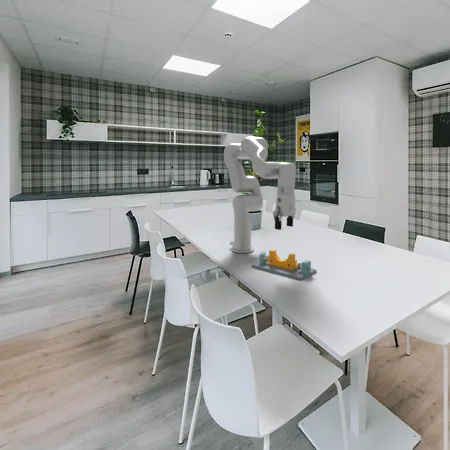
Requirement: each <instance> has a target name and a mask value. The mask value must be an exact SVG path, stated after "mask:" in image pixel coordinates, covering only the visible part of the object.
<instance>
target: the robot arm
mask: <svg viewBox="0 0 450 450" xmlns="http://www.w3.org/2000/svg"><path fill="white" fill-rule="evenodd" d="M268 153H269V152H268V141H267V139H265V138H264V137H261V136H260V137H259V136H246V137H244V138H242V139H241V140H240V143H238V142H237V143H235V142H234V143H230V144H227V145H226V146H225V148H224V151H223V159H224V160H223V161H224V164H225V166H226V167H227V170H228V175H229V179H230V184H231V189H232V191H233V193H235V194H238V195H236V196H235V197H234V198H233V200H232V209H233V218H234V219H233V220H234V222H233V225H234V227H233V229H234V231H233V234H234V235H233V236H234V237H233V238H234V239H233V240H231V241H230V242H229V245H230V246H232V247H231V251H232V252H234V253H237V254H248V253H253V252H254V248H253V246H252V218H251V216H250V214H249V212H257V211H261V210H262V209H263V205H264V200H263V194H262V190H261V185H260V182H259V180H258V178H257V177H255V176H253V175H246V174H245V171H244V167H243V164H241V162H239V160H251V166H252V169H253V171H254V172H255V173H256V174H257V175H258V176H259V177H260V178H262V179H267V180H268V179H270V180H272V179H276V180H277V191H276V194H277V196H276V200H275V208H274V210H273V211H272V215H273V219H274V229H275V230H279V231H280V230H282V224H283V223H282V219H283V217H285V218H286V227H292V228H293V227H294V219H295V214H296V211H297V208H296V195H295V185H296V170H297V168H296V166H297V165H296V164H295V163H294V162H293V163H292V162H283V161H282V162H281V161H280V162H279V161H266V159H267V158H268Z"/></svg>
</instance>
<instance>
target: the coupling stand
mask: <svg viewBox="0 0 450 450" xmlns="http://www.w3.org/2000/svg"><path fill="white" fill-rule="evenodd" d="M265 255H267V252H266V251H261V252H260V253H259V256H260V261H258V262H255V263H252V264H251V268H253V269H257V270H262V271H263V272H265V271H266V272H268V273H273V274H276V275H278V276H283V277H287V278H290V279H294V280H298V281H303V280H304V279H306V278H308V277H310V276H312V275H314V274H316V273H317V269H315V268H311V267H312V261H311V260H307V259H306V260H304V261H302V262H301V263H302V270H299V269H298V268H297V267H295V268H293V269H289V268H285V267H280V266H276V265H272V264H269V262H264V257H265ZM308 265H309V266H310V268H308ZM307 269H309V271H307Z"/></svg>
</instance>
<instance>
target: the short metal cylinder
mask: <svg viewBox="0 0 450 450" xmlns="http://www.w3.org/2000/svg"><path fill="white" fill-rule="evenodd" d="M258 262H260V255H259V256H258ZM264 262H269V255H267V254H266V255H265V257H264Z"/></svg>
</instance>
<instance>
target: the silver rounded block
mask: <svg viewBox="0 0 450 450" xmlns="http://www.w3.org/2000/svg"><path fill="white" fill-rule="evenodd" d="M297 268H298V269H299V270H302V262H297ZM308 268H310V266H309V265H308ZM307 271H309V269H307Z"/></svg>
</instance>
